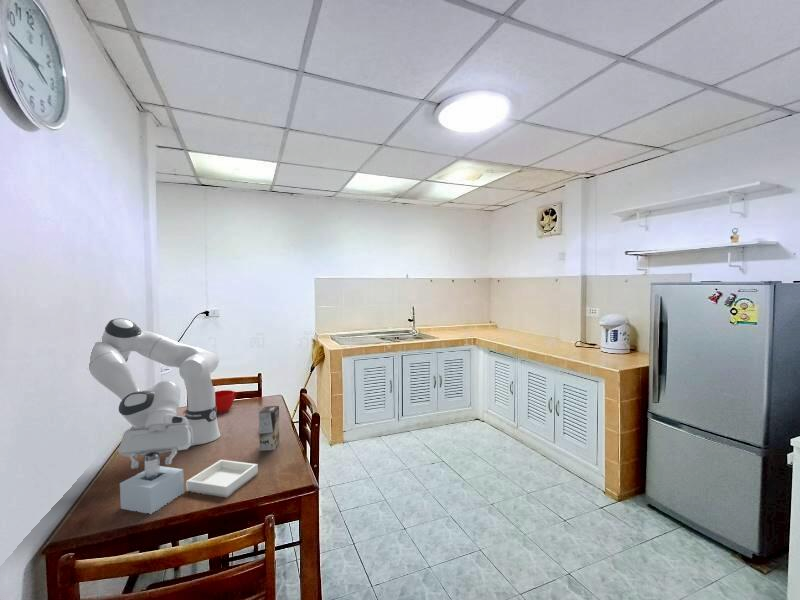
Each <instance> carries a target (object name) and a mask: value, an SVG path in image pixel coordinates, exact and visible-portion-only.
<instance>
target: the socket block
mask: <svg viewBox="0 0 800 600" xmlns="http://www.w3.org/2000/svg"><path fill="white" fill-rule="evenodd" d="M119 491H120V492H119V494H120V496H119V497H120V509H122V510H127V511H131V512H136V511H137V512H138V513H142V514H147V513H149V514H148V515H152V513H153V512H154V513H156V512H157V511H158V510H161V507H162V508H163V507H164V505H165V506H166V505H168V504H170V503H171V502H173V501H174V500H176V499H177V498H178V496H179V497H180V496H182V495H183V494H184V493H185V479H184V469H183V468H176V467H170V466H162V465H160V477H158V478H156V479H154V480H152V481H149V480H145V470H142V471H141V472H139V473H136V474H135V475H134V476H131V477H130V478H127V479H126V480H124V481H121V482H119ZM181 494H182V495H181ZM175 498H176V499H175ZM173 499H174V500H173ZM167 503H168V504H167ZM155 511H156V512H155ZM154 513H153V514H154Z"/></svg>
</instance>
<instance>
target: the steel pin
mask: <svg viewBox="0 0 800 600" xmlns="http://www.w3.org/2000/svg"><path fill="white" fill-rule="evenodd" d="M143 460H144V471H145V480H149V481H152V480H154V479H156V478H158V477H160V466H161V465H160V463H161V462H160V453H159V452H151V453H148V454H144V459H143Z"/></svg>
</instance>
